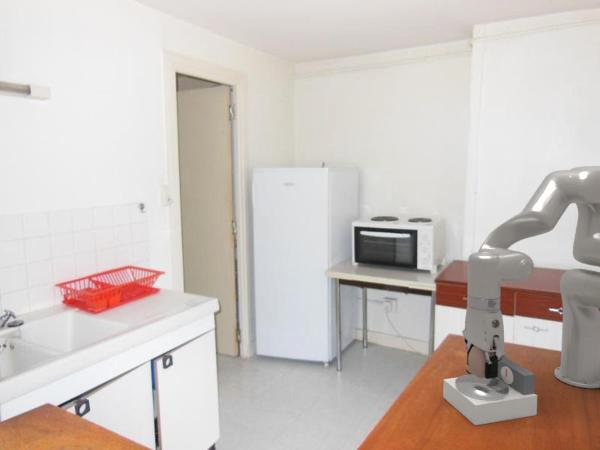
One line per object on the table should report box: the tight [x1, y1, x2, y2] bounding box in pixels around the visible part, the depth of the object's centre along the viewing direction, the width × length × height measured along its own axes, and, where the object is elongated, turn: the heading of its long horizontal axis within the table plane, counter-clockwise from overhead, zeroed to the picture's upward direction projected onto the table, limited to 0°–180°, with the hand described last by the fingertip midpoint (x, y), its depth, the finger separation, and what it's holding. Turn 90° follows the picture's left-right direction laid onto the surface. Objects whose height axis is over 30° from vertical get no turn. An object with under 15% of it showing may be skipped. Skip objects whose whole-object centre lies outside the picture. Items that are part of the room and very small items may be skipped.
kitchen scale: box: [442, 356, 538, 426], centre depth 115 cm, size 17×14×10 cm
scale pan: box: [455, 373, 509, 401], centre depth 115 cm, size 13×13×1 cm
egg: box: [468, 345, 494, 378], centre depth 114 cm, size 7×7×9 cm
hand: (481, 370), depth 114 cm, fingers closed on egg, 6 cm apart
